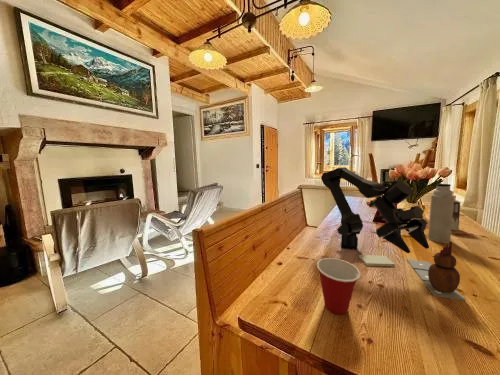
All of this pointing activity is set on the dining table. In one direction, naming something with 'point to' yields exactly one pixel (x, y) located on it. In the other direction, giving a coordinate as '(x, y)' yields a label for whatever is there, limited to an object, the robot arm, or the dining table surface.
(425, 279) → the pad
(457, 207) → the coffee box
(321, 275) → the plastic cup
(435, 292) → the pad
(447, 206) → the thermos bottle
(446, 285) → the wooden figurine
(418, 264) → the pad
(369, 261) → the folded napkin
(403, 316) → the dining table surface
